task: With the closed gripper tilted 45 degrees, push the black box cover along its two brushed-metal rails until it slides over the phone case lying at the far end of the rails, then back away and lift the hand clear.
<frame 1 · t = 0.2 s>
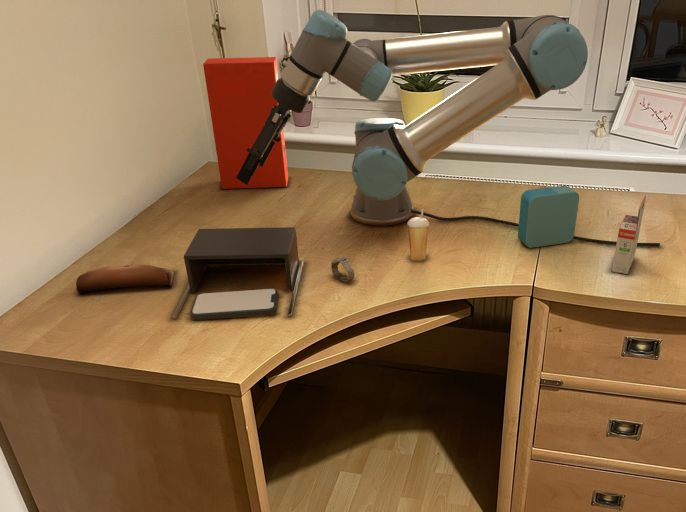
hand: (249, 172, 154), 16 cm above the table, tool tilted 35°, fingers open, 13 cm apart
cover: (244, 259, 144), point 4 cm above the table, slide at 0.0 cm
data package: (545, 242, 160), on the table
phone case: (236, 308, 135), on the table
milkshake: (418, 258, 153), on the table
wristwatch: (343, 280, 145), on the table
ink box: (622, 266, 149), on the table
sunglasses case: (128, 284, 144), on the table
tall red block: (255, 184, 194), on the table
rails: (242, 289, 142), on the table
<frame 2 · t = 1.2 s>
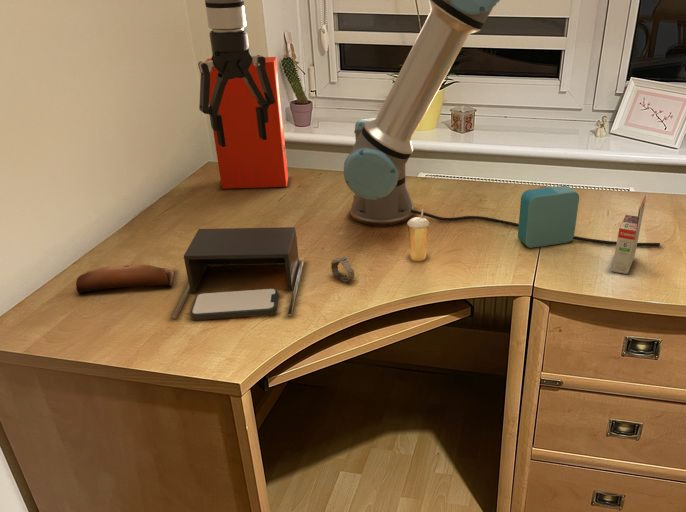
hand: (242, 141, 154), 21 cm above the table, tool pointing down, fingers open, 9 cm apart
nothing on the table moved.
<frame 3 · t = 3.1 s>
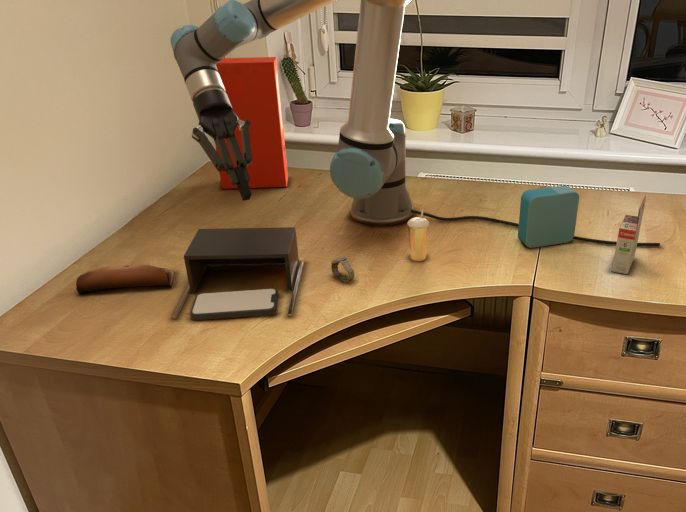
hand: (247, 197, 148), 13 cm above the table, tool tilted 45°, fingers closed
nothing on the table moved.
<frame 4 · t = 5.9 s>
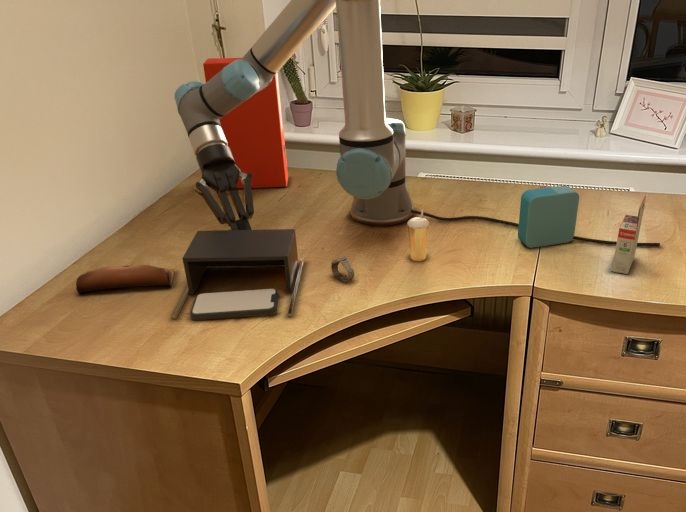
hand: (249, 249, 150), 3 cm above the table, tool tilted 45°, fingers closed
cover: (243, 261, 143), point 4 cm above the table, slide at 1.0 cm
everything else where it was.
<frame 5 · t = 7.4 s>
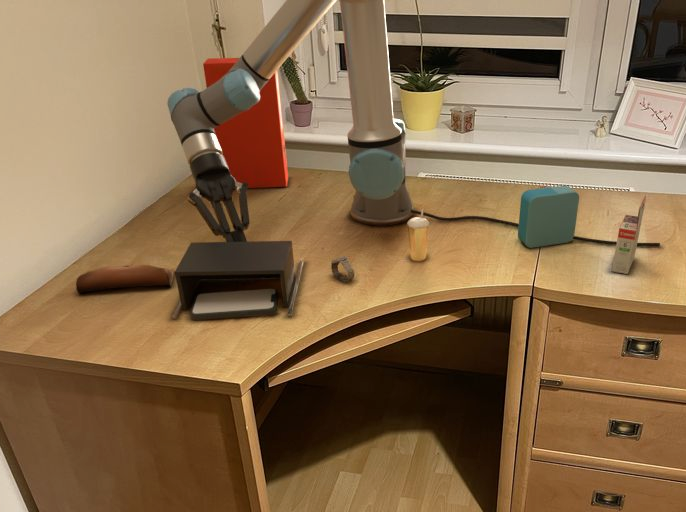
hand: (244, 261, 145), 3 cm above the table, tool tilted 45°, fingers closed
cover: (238, 274, 138), point 4 cm above the table, slide at 6.9 cm, touching gripper
everything else where it was.
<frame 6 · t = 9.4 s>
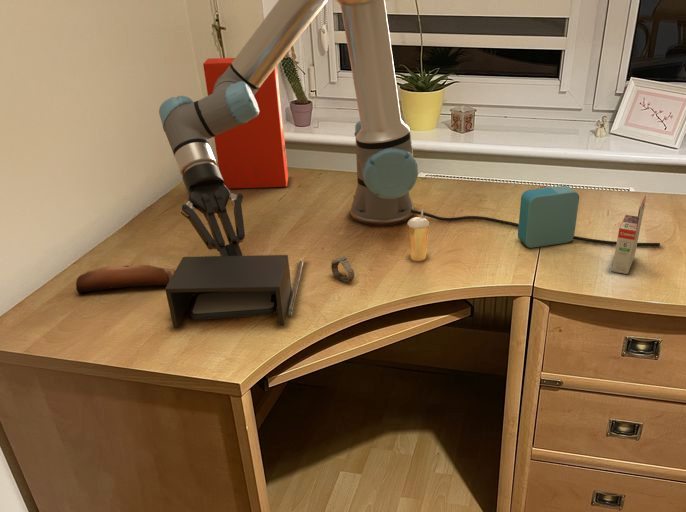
hand: (239, 276, 140), 3 cm above the table, tool tilted 45°, fingers closed
cover: (232, 290, 132), point 4 cm above the table, slide at 13.6 cm, touching gripper
everything else where it was.
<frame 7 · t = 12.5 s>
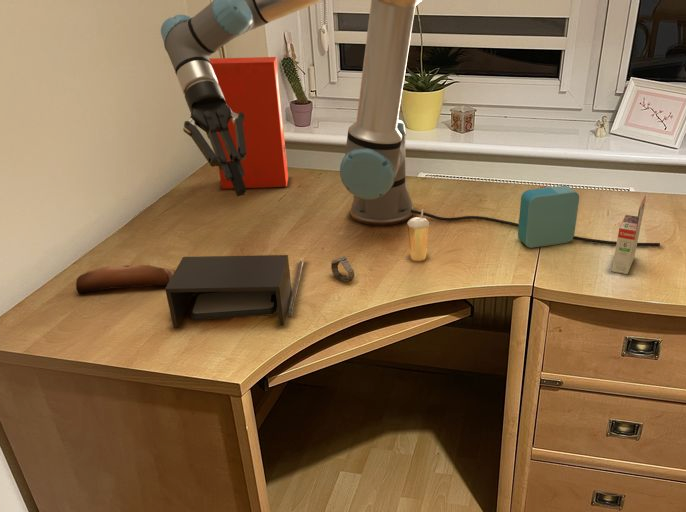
hand: (241, 192, 143), 16 cm above the table, tool tilted 45°, fingers closed
cover: (232, 290, 132), point 4 cm above the table, slide at 13.6 cm
everything else where it was.
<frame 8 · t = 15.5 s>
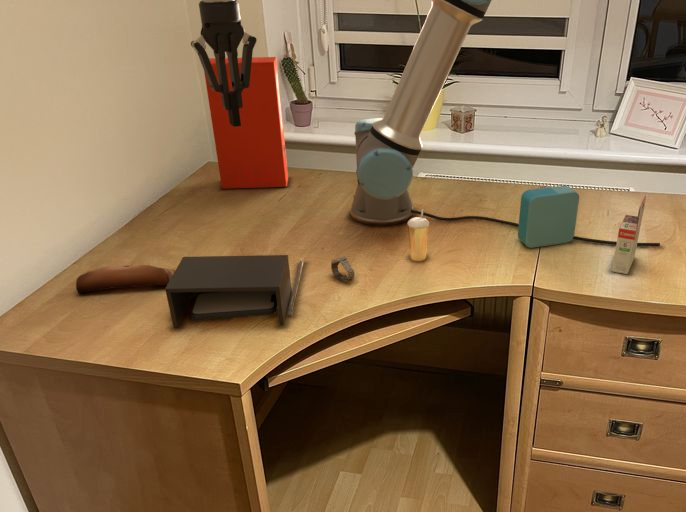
hand: (235, 124, 147), 26 cm above the table, tool pointing down, fingers closed
nothing on the table moved.
at the end: cover slide at 13.6 cm; phone case inside the target area (0.0 cm from its centre), on the table; phone case moved 0.2 cm from its start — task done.
